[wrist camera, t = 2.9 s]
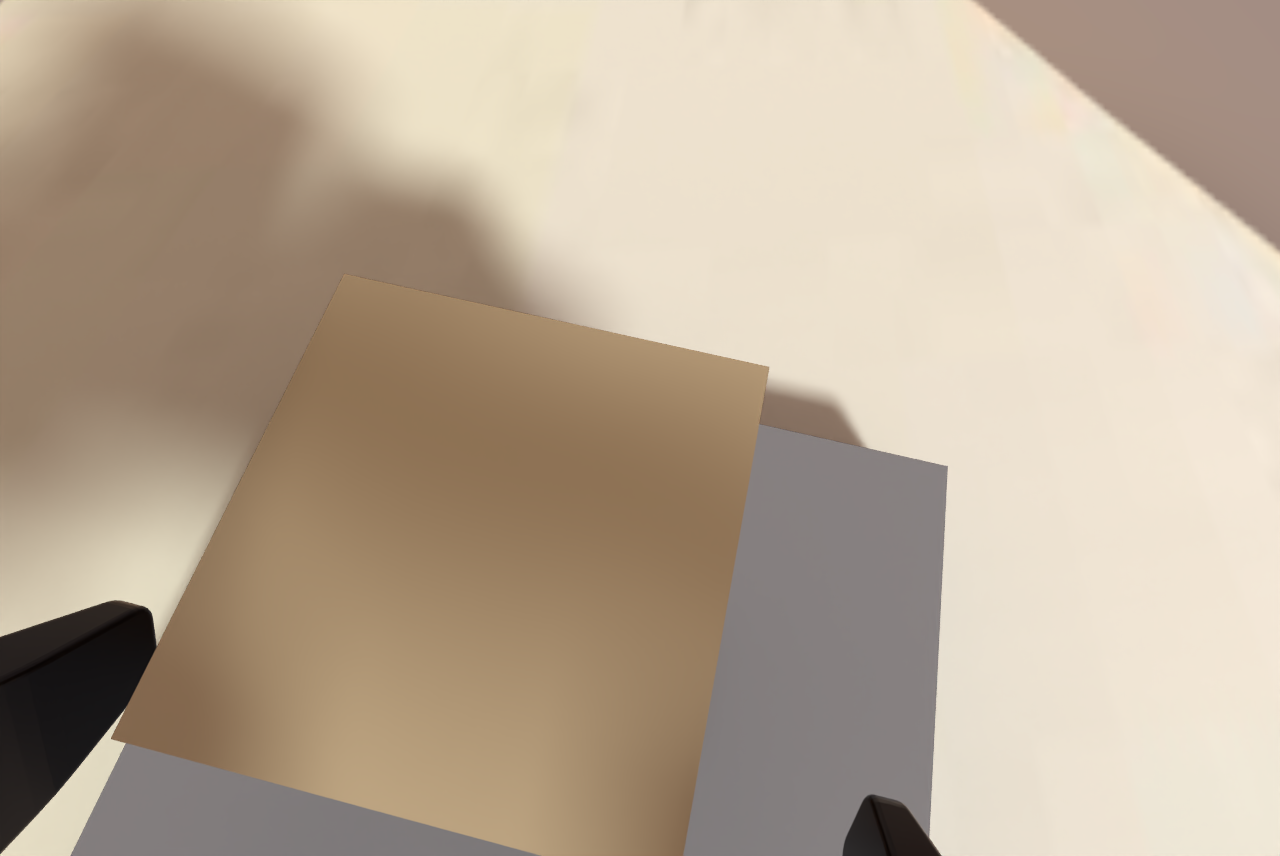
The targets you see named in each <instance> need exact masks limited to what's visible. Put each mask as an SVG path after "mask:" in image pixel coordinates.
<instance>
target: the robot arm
mask: <svg viewBox="0 0 1280 856" xmlns="http://www.w3.org/2000/svg"><path fill="white" fill-rule="evenodd" d="M156 648H157V645H156V638H155V630H154V623H153V616H152V613H151V612H150V611H149V609H148V608H146V607H144V606H140V605H136V604H132V603H128V602H125V601H117V600H114V601H109V602H105V603H102V604H99V605H96V606H93V607H90V608H87V609H84V610H81V611H78V612H75V613H72V614H69V615H66V616H63V617H60V618H56V619H53V620H50V621H47V622H44V623H41V624H38V625H35V626H32V627H29V628H26V629H23V630H20V631H17V632H14V633H11V634H8V635H5V636H2V637H0V854H1V853H2V852H3V851H4V850H5V849H6V848H7V847H8V845H9V844H10V843H11V842H12V841H13V840H14V839H15V838H16V837H17V836H18V835H19V834H20V833H21V832H22V831H23V830H24V828H25V827H26V826H27V825H28V824H29V823H30V822H31V821H32V820H33V819H34V818H35V817H36V816H37V815H38V814H39V812H40V811H41V810H42V809H43V808H44V807H45V806H46V805H47V804H48V802H49V801H50V800H51V799H52V798H53V797H54V796H55V795H56V794H57V792H58V791H59V790H60V789H61V788H62V786H63V785H64V784H65V783H66V782H67V780H68V779H69V778H70V777H71V776H72V775H73V773H74V772H75V771H76V770H77V768H78V767H79V766H80V765H81V763H82V762H83V761H84V760H85V758H86V757H87V756H88V755H89V753H90V752H91V751H92V750H93V748H94V747H95V746H96V745H97V743H98V742H99V741H100V740H101V738H102V737H103V736H104V735H105V733H106V732H107V731H108V730H109V728H110V727H111V726H112V725H113V723H114V722H115V721H116V720H117V718H118V717H119V716H120V715H121V713H122V712H123V711H124V710H125V708H126V707H127V705H128V703H129V701H130V699H131V697H132V695H133V693H134V692H135V690H136V688H137V686H138V684H139V682H140V680H141V678H142V676H143V674H144V672H145V670H146V668H147V666H148V664H149V662H150V660H151V658H152V656H153V654H154V652H155V650H156ZM842 856H941V854H940V853H939V851H938V850H937V848H936V847H935V846H934V844H933V843H932V841H931V840H930V838H929V837H928V836H927V834H926V833H925V831H924V830H923V828H922V827H921V826H920V824H919V823H918V821H917V820H916V818H915V817H914V816H913V814H912V813H911V811H910V810H909V809H908V807H906V806H905V805H904V804H903V803H902V802H900V801H897V800H894V799H890V798H886V797H882V796H878V795H874V794H870V795H867V796H866V797H865V798H864V800H863V801H862V803H861V805H860V807H859V810H858V812H857V814H856V816H855V818H854V821H853V823H852V825H851V827H850V829H849V831H848V834H847V836H846V838H845V842H844V846H843V854H842Z"/></svg>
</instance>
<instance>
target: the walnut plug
mask: <svg viewBox="0 0 1280 856" xmlns="http://www.w3.org/2000/svg"><path fill="white" fill-rule="evenodd" d="M768 372H769V367H767V366H762V365H758V364H753V363H749V362H744V361H740V360H735V359H730V358H726V357H721V356H717V355H712V354H708V353H703V352H699V351H694V350H689V349H685V348H680V347H676V346H671V345H667V344H662V343H658V342H653V341H648V340H644V339H639V338H635V337H630V336H626V335H621V334H617V333H612V332H608V331H603V330H598V329H594V328H589V327H585V326H580V325H576V324H571V323H567V322H562V321H557V320H553V319H548V318H544V317H539V316H535V315H530V314H526V313H521V312H516V311H512V310H507V309H503V308H498V307H494V306H489V305H485V304H480V303H475V302H471V301H466V300H462V299H457V298H453V297H448V296H444V295H439V294H434V293H430V292H425V291H421V290H416V289H412V288H407V287H403V286H398V285H393V284H389V283H384V282H380V281H375V280H371V279H366V278H362V277H357V276H352V275H348V274H344V275H343V277H342V279H341V281H340V283H339V285H338V287H337V289H336V291H335V293H334V295H333V297H332V299H331V301H330V303H329V305H328V307H327V309H326V311H325V313H324V315H323V317H322V319H321V321H320V323H319V325H318V327H317V329H316V331H315V333H314V335H313V337H312V339H311V341H310V343H309V345H308V347H307V349H306V351H305V353H304V355H303V357H302V359H301V361H300V363H299V365H298V367H297V369H296V371H295V373H294V375H293V377H292V379H291V381H290V383H289V385H288V387H287V389H286V391H285V393H284V395H283V397H282V399H281V401H280V403H279V405H278V407H277V409H276V411H275V413H274V415H273V417H272V419H271V421H270V423H269V425H268V427H267V429H266V431H265V433H264V434H263V436H262V438H261V440H260V442H259V444H258V446H257V448H256V450H255V452H254V454H253V456H252V458H251V460H250V462H249V464H248V466H247V468H246V470H245V472H244V474H243V476H242V478H241V480H240V482H239V484H238V486H237V488H236V490H235V492H234V494H233V496H232V498H231V500H230V502H229V504H228V506H227V508H226V510H225V512H224V514H223V516H222V518H221V520H220V522H219V524H218V526H217V528H216V530H215V532H214V534H213V536H212V538H211V540H210V542H209V544H208V546H207V548H206V550H205V552H204V554H203V556H202V558H201V560H200V562H199V564H198V566H197V568H196V570H195V572H194V574H193V576H192V578H191V580H190V582H189V584H188V586H187V588H186V590H185V592H184V594H183V596H182V598H181V600H180V602H179V604H178V606H177V608H176V610H175V612H174V614H173V616H172V618H171V620H170V622H169V624H168V626H167V628H166V630H165V632H164V634H163V636H162V638H161V640H160V642H159V644H158V646H157V648H156V650H155V652H154V654H153V656H152V658H151V660H150V662H149V664H148V666H147V668H146V670H145V672H144V674H143V676H142V678H141V680H140V682H139V684H138V686H137V688H136V690H135V692H134V693H133V695H132V697H131V699H130V701H129V703H128V705H127V707H126V709H125V711H124V713H123V715H122V717H121V719H120V721H119V723H118V725H117V727H116V729H115V731H114V733H113V735H112V737H111V739H113V740H117V741H120V742H124V743H128V744H131V745H135V746H139V747H142V748H146V749H150V750H154V751H157V752H161V753H165V754H168V755H172V756H176V757H179V758H183V759H187V760H190V761H194V762H198V763H201V764H205V765H209V766H213V767H216V768H220V769H224V770H227V771H231V772H235V773H238V774H242V775H246V776H249V777H253V778H257V779H260V780H264V781H268V782H272V783H275V784H279V785H283V786H286V787H290V788H294V789H297V790H301V791H305V792H308V793H312V794H316V795H319V796H323V797H327V798H331V799H334V800H338V801H342V802H345V803H349V804H353V805H356V806H360V807H364V808H367V809H371V810H375V811H378V812H382V813H386V814H390V815H393V816H397V817H401V818H404V819H408V820H412V821H415V822H419V823H423V824H426V825H430V826H434V827H438V828H441V829H445V830H449V831H452V832H456V833H460V834H463V835H467V836H471V837H474V838H478V839H482V840H485V841H489V842H493V843H497V844H500V845H504V846H508V847H511V848H515V849H519V850H522V851H526V852H530V853H533V854H537V855H541V856H683V854H684V848H685V843H686V837H687V831H688V826H689V820H690V814H691V809H692V803H693V797H694V792H695V786H696V780H697V775H698V769H699V763H700V758H701V752H702V746H703V741H704V735H705V729H706V723H707V718H708V712H709V706H710V701H711V695H712V689H713V684H714V678H715V672H716V667H717V661H718V655H719V650H720V644H721V638H722V633H723V627H724V621H725V616H726V610H727V604H728V599H729V593H730V587H731V582H732V576H733V570H734V565H735V559H736V553H737V548H738V542H739V536H740V531H741V525H742V519H743V513H744V508H745V502H746V496H747V491H748V485H749V479H750V474H751V468H752V462H753V457H754V451H755V445H756V440H757V434H758V428H759V423H760V417H761V411H762V406H763V400H764V394H765V389H766V383H767V377H768Z"/></svg>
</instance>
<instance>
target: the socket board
mask: <svg viewBox="0 0 1280 856" xmlns="http://www.w3.org/2000/svg"><path fill="white" fill-rule="evenodd" d="M947 470H948V466H944V465H939V464H935V463H930V462H926V461H921V460H917V459H913V458H908V457H904V456H899V455H895V454H890V453H886V452H881V451H877V450H873V449H868V448H864V447H859V446H855V445H850V444H846V443H841V442H837V441H833V440H828V439H824V438H819V437H815V436H810V435H806V434H802V433H797V432H793V431H788V430H784V429H779V428H775V427H770V426H766V425H762V424H759V428H758V434H757V440H756V445H755V451H754V457H753V462H752V468H751V474H750V479H749V485H748V491H747V496H746V502H745V508H744V513H743V519H742V525H741V531H740V536H739V542H738V548H737V553H736V559H735V565H734V570H733V576H732V582H731V587H730V593H729V599H728V604H727V610H726V616H725V621H724V627H723V633H722V638H721V644H720V650H719V655H718V661H717V667H716V672H715V678H714V684H713V689H712V695H711V701H710V706H709V712H708V718H707V723H706V729H705V735H704V741H703V746H702V752H701V758H700V763H699V769H698V775H697V780H696V786H695V792H694V797H693V803H692V809H691V814H690V820H689V826H688V831H687V837H686V843H685V848H684V854H683V856H842V854H843V846H844V842H845V838H846V836H847V834H848V831H849V829H850V827H851V825H852V823H853V821H854V818H855V816H856V814H857V812H858V810H859V807H860V805H861V803H862V801H863V800H864V798H865V797H866V796H867V795H870V794H874V795H878V796H882V797H886V798H890V799H894V800H897V801H900V802H902V803H903V804H904V805H905V806H906V807H908V809H909V810H910V811H911V813H912V814H913V816H914V817H915V818H916V820H917V821H918V823H919V824H920V826H921V827H922V828H923V830H924V831H925V833H926V834H927V836H928V837H929V831H930V811H931V791H932V771H933V751H934V731H935V711H936V690H937V670H938V650H939V630H940V610H941V590H942V570H943V550H944V530H945V510H946V490H947ZM71 856H541V855H537V854H533V853H530V852H526V851H522V850H519V849H515V848H511V847H508V846H504V845H500V844H497V843H493V842H489V841H485V840H482V839H478V838H474V837H471V836H467V835H463V834H460V833H456V832H452V831H449V830H445V829H441V828H438V827H434V826H430V825H426V824H423V823H419V822H415V821H412V820H408V819H404V818H401V817H397V816H393V815H390V814H386V813H382V812H378V811H375V810H371V809H367V808H364V807H360V806H356V805H353V804H349V803H345V802H342V801H338V800H334V799H331V798H327V797H323V796H319V795H316V794H312V793H308V792H305V791H301V790H297V789H294V788H290V787H286V786H283V785H279V784H275V783H272V782H268V781H264V780H260V779H257V778H253V777H249V776H246V775H242V774H238V773H235V772H231V771H227V770H224V769H220V768H216V767H213V766H209V765H205V764H201V763H198V762H194V761H190V760H187V759H183V758H179V757H176V756H172V755H168V754H165V753H161V752H157V751H154V750H150V749H146V748H142V747H139V746H135V745H131V744H128V743H126V744H125V746H124V748H123V750H122V752H121V754H120V756H119V758H118V760H117V762H116V764H115V767H114V769H113V771H112V773H111V775H110V777H109V779H108V781H107V783H106V785H105V787H104V789H103V791H102V793H101V795H100V797H99V799H98V801H97V803H96V805H95V807H94V809H93V811H92V813H91V815H90V817H89V819H88V821H87V823H86V825H85V827H84V829H83V832H82V834H81V836H80V838H79V840H78V842H77V844H76V846H75V848H74V850H73V852H72V854H71Z"/></svg>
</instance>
